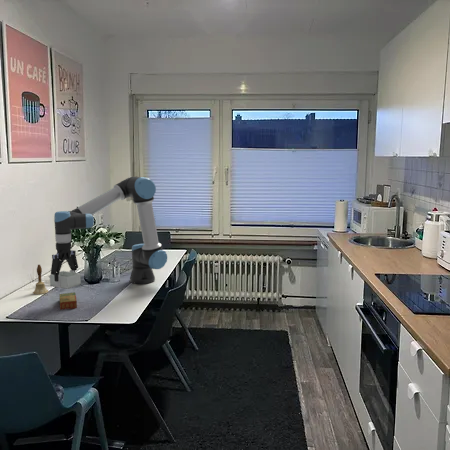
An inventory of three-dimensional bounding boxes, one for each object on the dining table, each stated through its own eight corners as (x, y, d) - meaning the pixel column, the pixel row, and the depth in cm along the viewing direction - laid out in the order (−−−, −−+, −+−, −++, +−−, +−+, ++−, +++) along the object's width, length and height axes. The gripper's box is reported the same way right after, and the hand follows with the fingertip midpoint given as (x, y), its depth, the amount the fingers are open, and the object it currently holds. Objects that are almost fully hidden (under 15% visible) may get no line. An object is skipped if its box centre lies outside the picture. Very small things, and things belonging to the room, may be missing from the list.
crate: (63, 281, 240) (63, 270, 239) (80, 284, 235) (80, 273, 234) (50, 286, 232) (49, 274, 231) (67, 289, 227) (67, 277, 226)
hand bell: (30, 292, 256) (28, 264, 254) (45, 289, 262) (44, 262, 259) (35, 295, 250) (33, 267, 248) (50, 292, 255) (49, 265, 253)
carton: (59, 310, 227) (59, 302, 226) (59, 301, 242) (58, 293, 241) (77, 308, 230) (76, 300, 229) (75, 299, 244) (75, 291, 244)
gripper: (73, 238, 242) (75, 279, 245) (40, 244, 222) (43, 289, 226) (84, 239, 238) (86, 280, 242) (52, 246, 219) (54, 291, 222)
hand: (65, 284), depth 234 cm, fingers closed on crate, 9 cm apart
